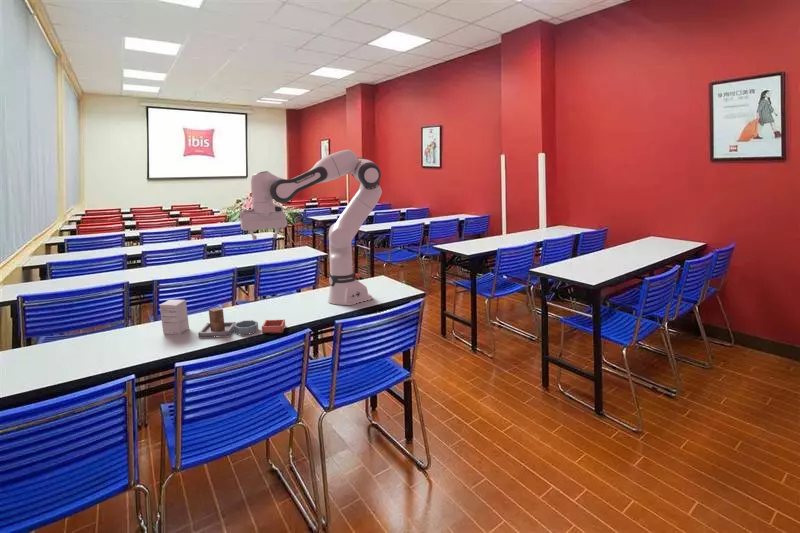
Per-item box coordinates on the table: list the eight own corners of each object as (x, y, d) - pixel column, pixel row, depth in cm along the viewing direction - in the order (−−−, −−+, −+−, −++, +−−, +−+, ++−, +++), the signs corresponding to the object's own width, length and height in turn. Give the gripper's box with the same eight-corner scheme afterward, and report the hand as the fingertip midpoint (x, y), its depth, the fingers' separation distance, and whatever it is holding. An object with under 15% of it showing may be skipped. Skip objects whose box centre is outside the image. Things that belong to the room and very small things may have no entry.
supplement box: (173, 327, 193) (169, 299, 190) (189, 328, 192) (186, 299, 189) (162, 334, 186) (158, 304, 183) (179, 334, 185) (176, 305, 182)
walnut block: (219, 327, 190) (217, 307, 188) (224, 329, 188) (222, 309, 186) (210, 330, 187) (208, 309, 185) (215, 332, 185) (213, 311, 183)
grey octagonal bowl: (249, 325, 195) (249, 319, 194) (261, 330, 189) (261, 323, 189) (231, 331, 188) (230, 324, 188) (242, 336, 183) (242, 329, 182)
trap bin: (285, 326, 194) (284, 319, 193) (282, 333, 186) (281, 326, 186) (266, 326, 193) (265, 320, 193) (262, 333, 186) (261, 326, 185)
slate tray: (236, 326, 194) (235, 322, 193) (228, 336, 183) (228, 332, 182) (207, 327, 193) (207, 322, 192) (198, 337, 182) (198, 333, 181)
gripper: (240, 210, 196) (243, 241, 199) (287, 207, 207) (288, 237, 210) (237, 208, 201) (239, 239, 204) (282, 206, 212) (284, 235, 215)
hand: (265, 238), depth 207 cm, fingers open, 8 cm apart
